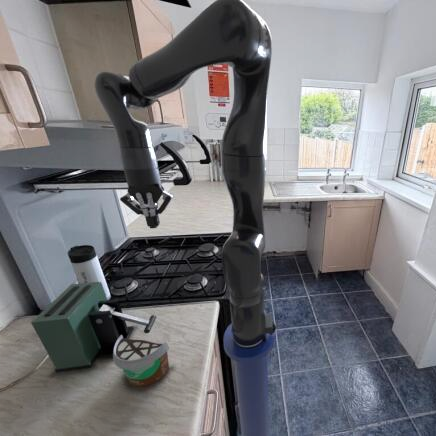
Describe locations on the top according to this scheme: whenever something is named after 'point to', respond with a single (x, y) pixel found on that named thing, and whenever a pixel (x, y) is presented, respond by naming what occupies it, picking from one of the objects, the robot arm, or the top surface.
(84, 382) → the top surface
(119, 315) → the lever
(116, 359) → the food container
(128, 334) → the bracket
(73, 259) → the travel mug
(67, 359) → the toaster body
